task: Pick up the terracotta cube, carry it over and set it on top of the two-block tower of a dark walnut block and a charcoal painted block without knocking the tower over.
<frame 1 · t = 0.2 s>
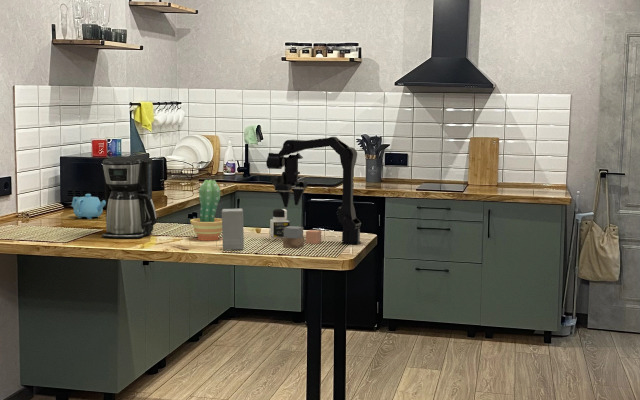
hand: (291, 206, 368), 14 cm above the countertop, fingers open, 9 cm apart
coffee maker: (136, 234, 376), on the countertop
charcoal block: (293, 237, 350), point 4 cm above the countertop, touching walnut block
terracotta cube: (313, 242, 361), on the countertop
potted cactus: (208, 239, 367), on the countertop
skincare box: (232, 249, 342), on the countertop
walnut block: (293, 247, 350), on the countertop, touching charcoal block
medicine bottle: (279, 237, 377), on the countertop
teapot: (89, 218, 427), on the countertop
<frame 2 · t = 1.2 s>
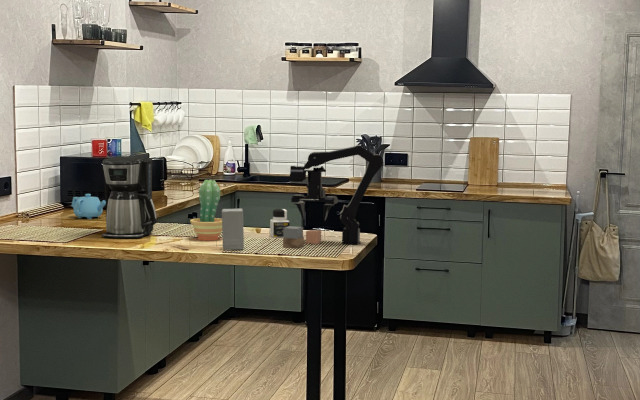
hand: (314, 220, 360), 9 cm above the countertop, fingers open, 9 cm apart
nothing on the countertop moved.
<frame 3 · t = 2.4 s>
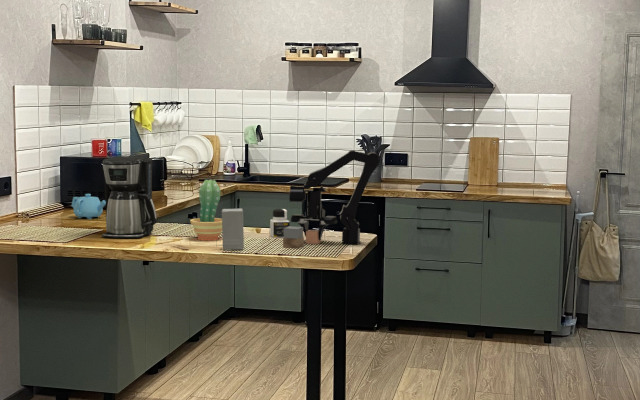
hand: (313, 239, 361), 1 cm above the countertop, fingers closed on terracotta cube, 5 cm apart
terracotta cube: (313, 242, 361), on the countertop, touching gripper
everything else where it was.
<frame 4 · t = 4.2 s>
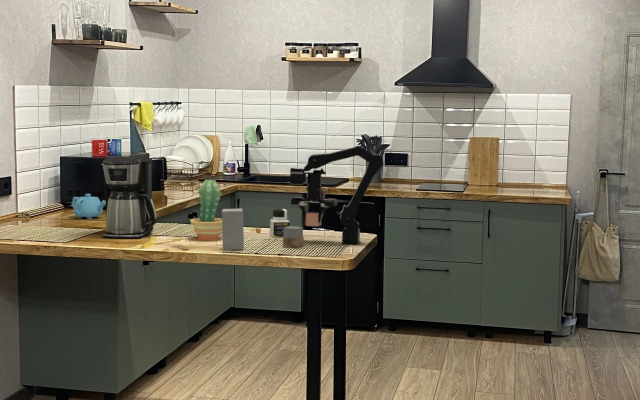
hand: (313, 222, 360), 9 cm above the countertop, fingers closed on terracotta cube, 5 cm apart
terracotta cube: (313, 225, 360), point 7 cm above the countertop, touching gripper
everything else where it was.
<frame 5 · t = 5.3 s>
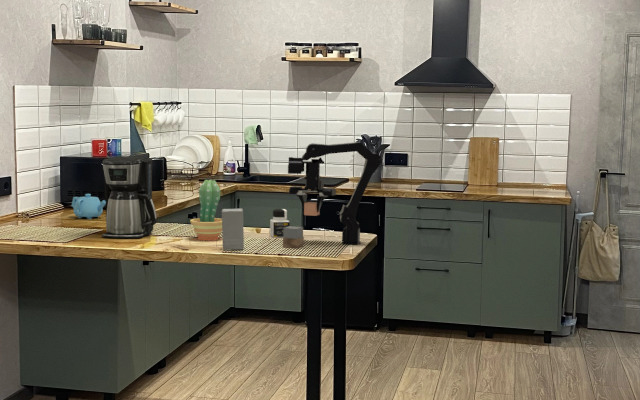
hand: (311, 211, 359), 13 cm above the countertop, fingers closed on terracotta cube, 5 cm apart
charcoal block: (293, 237, 350), point 4 cm above the countertop
terracotta cube: (311, 214, 359), point 12 cm above the countertop, touching gripper
walnut block: (293, 247, 350), on the countertop
everything else where it was.
when the fingers open (10 cm above the countertop, at t = 7.6 s): terracotta cube drops 1 cm, resting on charcoal block.
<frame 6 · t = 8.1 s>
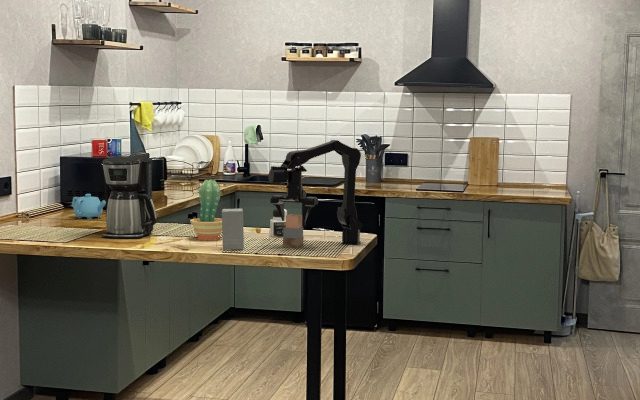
hand: (293, 221, 349), 10 cm above the countertop, fingers open, 9 cm apart
charcoal block: (293, 237, 350), point 4 cm above the countertop, touching terracotta cube, walnut block
terracotta cube: (293, 227, 349), point 8 cm above the countertop, touching charcoal block
walnut block: (293, 247, 350), on the countertop, touching charcoal block
everything else where it was.
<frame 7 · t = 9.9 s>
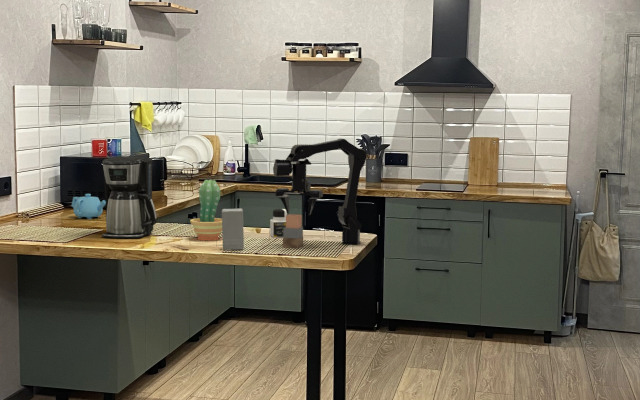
hand: (298, 214, 352), 13 cm above the countertop, fingers open, 9 cm apart
nothing on the countertop moved.
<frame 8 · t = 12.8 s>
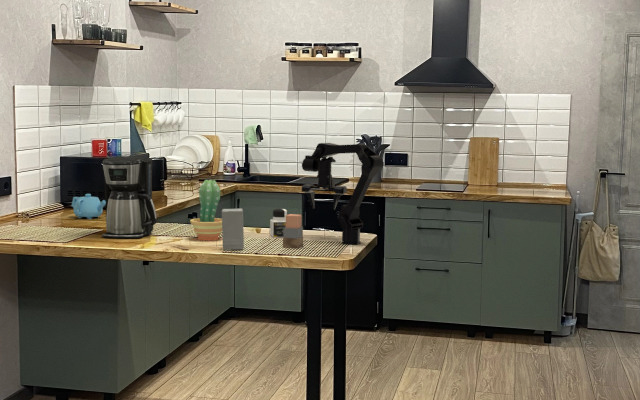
hand: (323, 209, 369), 13 cm above the countertop, fingers open, 9 cm apart
charcoal block: (293, 237, 350), point 4 cm above the countertop, touching walnut block
terracotta cube: (293, 227, 349), point 8 cm above the countertop
everything else where it was.
at the end: terracotta cube 0.1 cm off-centre on the charcoal block, point 4.0 cm above the charcoal block's base; terracotta cube tilted 0°; charcoal block 0.1 cm from the walnut block (horizontally) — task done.
